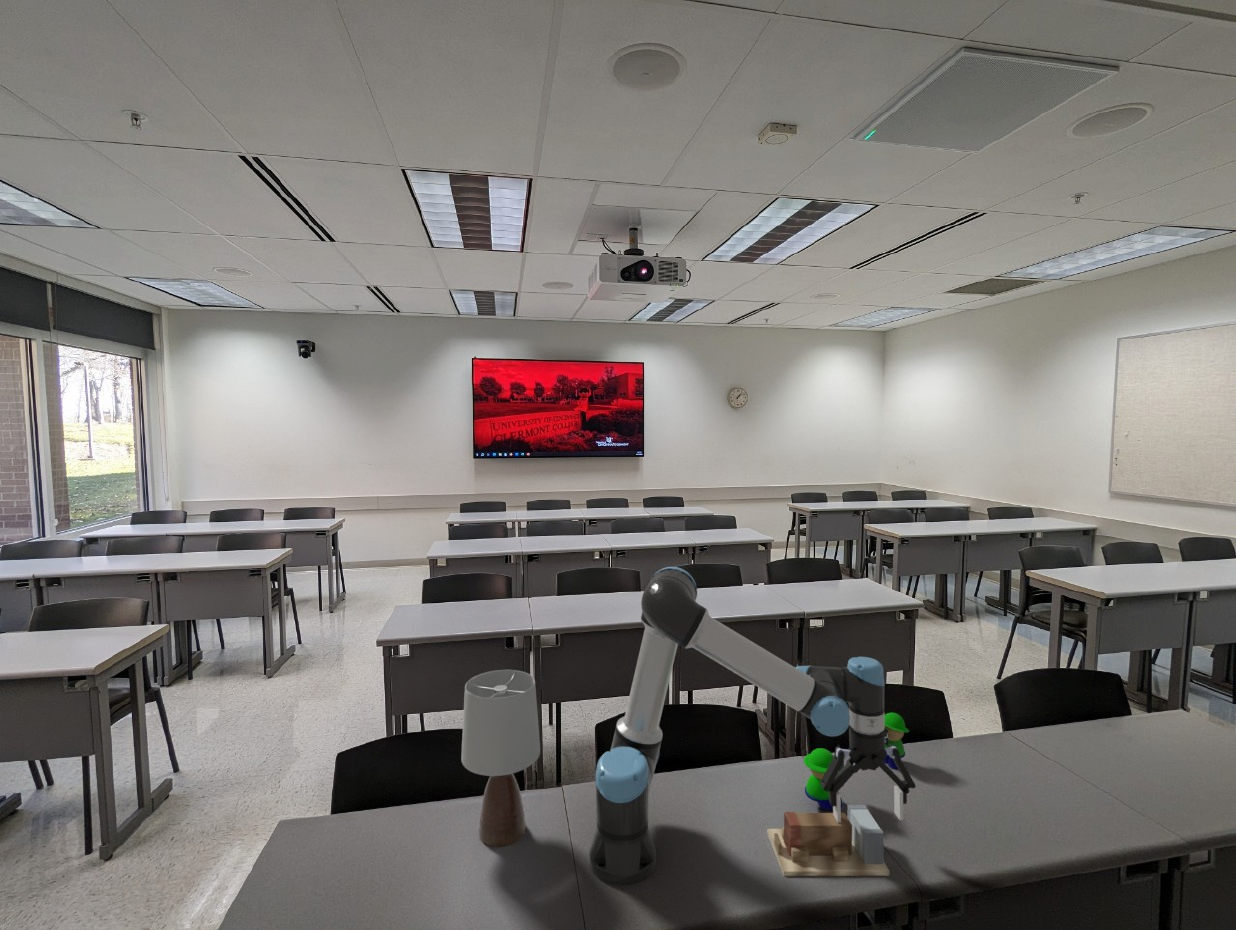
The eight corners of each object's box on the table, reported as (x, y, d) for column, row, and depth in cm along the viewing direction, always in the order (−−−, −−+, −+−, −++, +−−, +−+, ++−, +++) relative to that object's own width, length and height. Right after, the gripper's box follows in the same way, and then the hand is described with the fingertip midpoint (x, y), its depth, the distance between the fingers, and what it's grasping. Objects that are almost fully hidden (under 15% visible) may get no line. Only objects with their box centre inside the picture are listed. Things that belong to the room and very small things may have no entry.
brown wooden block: (789, 856, 134) (790, 825, 133) (783, 842, 138) (784, 812, 138) (851, 856, 134) (852, 825, 133) (843, 841, 138) (844, 811, 138)
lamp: (552, 815, 150) (551, 672, 148) (521, 866, 132) (519, 704, 131) (486, 803, 155) (484, 664, 153) (447, 851, 137) (444, 695, 136)
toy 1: (844, 820, 148) (845, 761, 147) (805, 815, 150) (806, 758, 149) (837, 794, 159) (838, 739, 158) (801, 790, 160) (801, 736, 160)
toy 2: (868, 758, 176) (869, 709, 175) (892, 753, 179) (893, 704, 178) (890, 774, 168) (891, 722, 167) (915, 769, 170) (916, 718, 170)
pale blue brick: (864, 864, 131) (865, 833, 131) (847, 834, 141) (847, 805, 141) (883, 864, 131) (883, 833, 131) (864, 833, 141) (864, 804, 141)
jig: (783, 876, 129) (784, 860, 129) (767, 833, 143) (767, 818, 143) (889, 876, 129) (889, 859, 129) (862, 833, 143) (862, 818, 143)
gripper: (816, 737, 131) (818, 830, 132) (931, 734, 131) (932, 826, 132) (805, 721, 138) (807, 809, 139) (914, 718, 139) (915, 805, 139)
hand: (867, 818), depth 136 cm, fingers open, 13 cm apart
